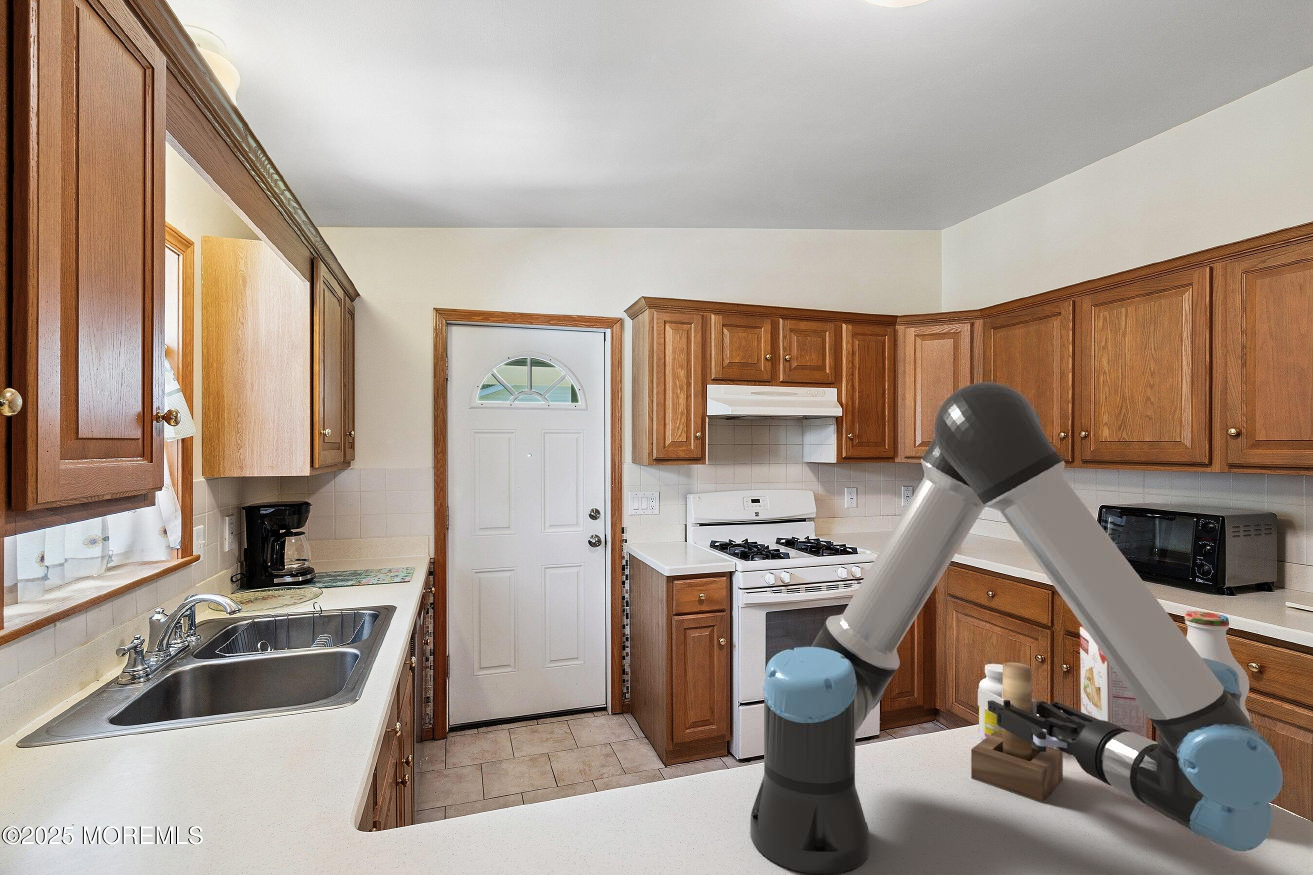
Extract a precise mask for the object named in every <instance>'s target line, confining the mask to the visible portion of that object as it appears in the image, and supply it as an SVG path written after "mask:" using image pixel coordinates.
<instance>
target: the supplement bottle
mask: <svg viewBox="0 0 1313 875" xmlns="http://www.w3.org/2000/svg"><path fill="white" fill-rule="evenodd" d="M984 673H985V676H986V677H985V678H983V679H982V680H980V682H979V683H978V689H980V688H982V689H984V690H986V691H988V692H990V693H992V694H995V695H997V696H999V697H1001V698H1002V686H1003V664H998V663H989V664H985V665H984ZM995 731H996V732H999V733H1003V728H1002V727H1000V726H998V725H997V715H995V714H994V713H992V712H990V711H988V710H986V709H984V708H982V707H980V706H978V734H979V737H980V739H981V740H982V741H983V740H984V739H985V738H987V737H988V736H989V735H991V734H992V733H993V732H995Z"/></svg>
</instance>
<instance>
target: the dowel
mask: <svg viewBox="0 0 1313 875" xmlns="http://www.w3.org/2000/svg"><path fill="white" fill-rule="evenodd" d="M1002 665H1003V699H1005V700H1010V702H1011V703H1012V706H1013V707H1016V708H1018V709H1021V710H1023V711H1026V712H1029V713H1031V714H1032V698H1033V688H1032V687H1033V685H1032V684H1033V680H1032V679H1033V678H1032V677H1033V675H1032V674H1033V673H1032V671H1033V668H1032V667H1031V666H1029V665H1027V664H1024V663H1021V662H1020V663H1019V662H1012V661H1011V662H1010V661H1009V662H1003V663H1002ZM1003 753H1004V754H1008V755H1011V756H1014V757H1017V758H1020V759H1024V760H1027V761H1032V745H1031V744H1030V743H1028V742H1026V741H1025V740H1023V739H1021V738H1019V737H1018V736H1016V735H1014V734H1012V733H1011V732H1009V731H1007V730H1005V729H1004V728H1003Z"/></svg>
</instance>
